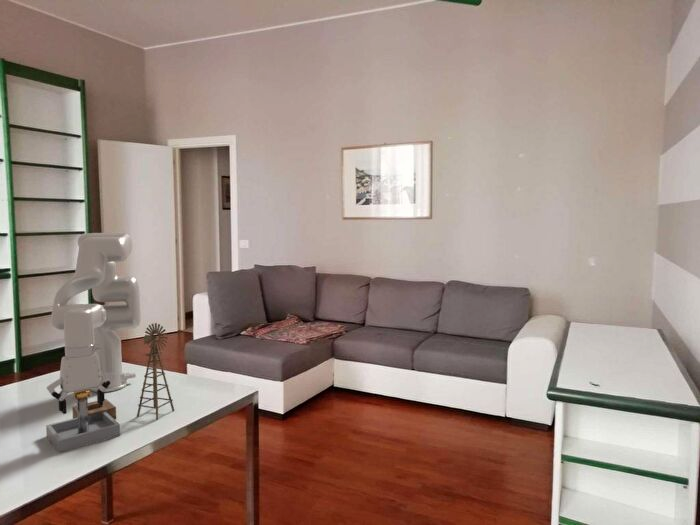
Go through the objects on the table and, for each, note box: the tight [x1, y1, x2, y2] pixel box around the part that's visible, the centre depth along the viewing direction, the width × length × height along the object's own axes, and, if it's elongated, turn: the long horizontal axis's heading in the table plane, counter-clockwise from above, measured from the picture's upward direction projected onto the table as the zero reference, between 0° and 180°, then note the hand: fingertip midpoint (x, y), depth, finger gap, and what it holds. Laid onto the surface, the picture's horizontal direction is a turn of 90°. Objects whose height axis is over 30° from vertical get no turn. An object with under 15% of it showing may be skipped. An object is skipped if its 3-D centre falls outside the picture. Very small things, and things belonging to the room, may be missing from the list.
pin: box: [73, 389, 91, 434], centre depth 141 cm, size 4×4×12 cm
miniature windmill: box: [136, 322, 175, 421], centre depth 157 cm, size 9×8×30 cm
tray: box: [45, 412, 121, 453], centre depth 142 cm, size 16×14×3 cm
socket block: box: [71, 398, 117, 423], centre depth 154 cm, size 10×10×4 cm
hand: (82, 408), depth 141 cm, fingers open, 9 cm apart
